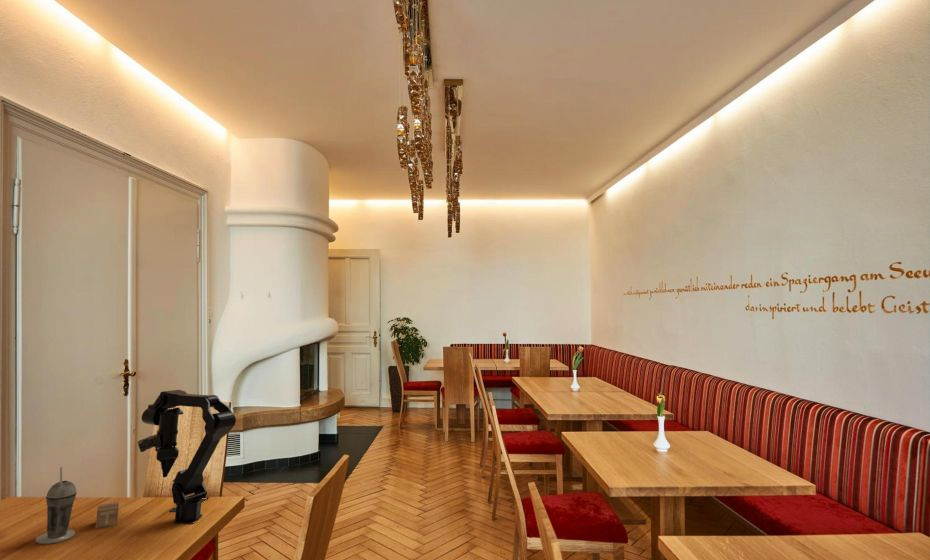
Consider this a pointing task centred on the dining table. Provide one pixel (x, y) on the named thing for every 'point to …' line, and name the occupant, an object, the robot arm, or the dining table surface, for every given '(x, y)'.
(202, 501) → the smartphone
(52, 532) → the beverage cup
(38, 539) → the grey coaster
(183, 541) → the dining table surface
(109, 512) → the letter block
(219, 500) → the dining table surface
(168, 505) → the dining table surface
